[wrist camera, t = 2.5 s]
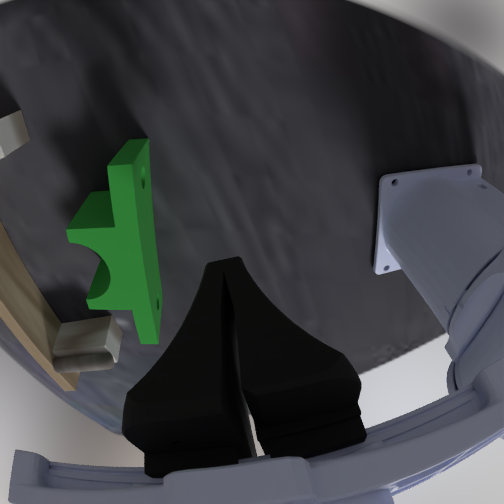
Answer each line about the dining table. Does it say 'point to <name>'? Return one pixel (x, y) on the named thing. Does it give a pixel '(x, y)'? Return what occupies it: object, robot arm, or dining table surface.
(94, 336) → the wooden drawer handle
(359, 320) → the dining table surface
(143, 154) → the pipe clamp
